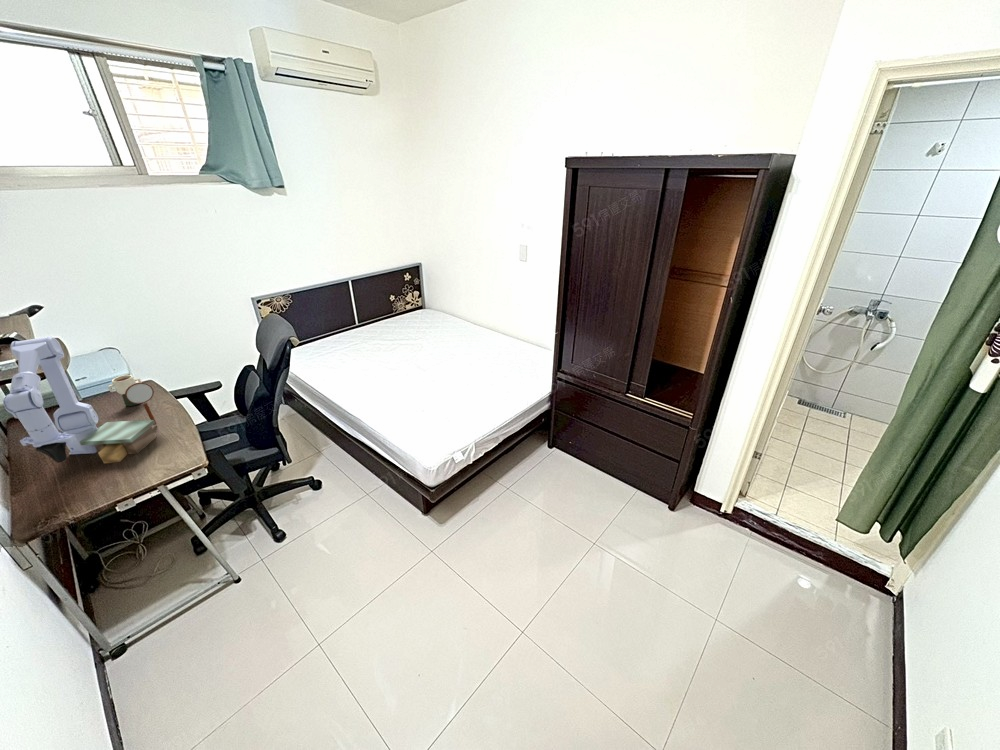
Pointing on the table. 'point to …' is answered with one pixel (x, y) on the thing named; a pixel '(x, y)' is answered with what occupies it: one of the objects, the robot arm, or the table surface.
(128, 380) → the character mug
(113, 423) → the socket shed
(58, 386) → the robot arm
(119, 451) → the peg
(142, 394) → the magnifying glass
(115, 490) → the table surface
